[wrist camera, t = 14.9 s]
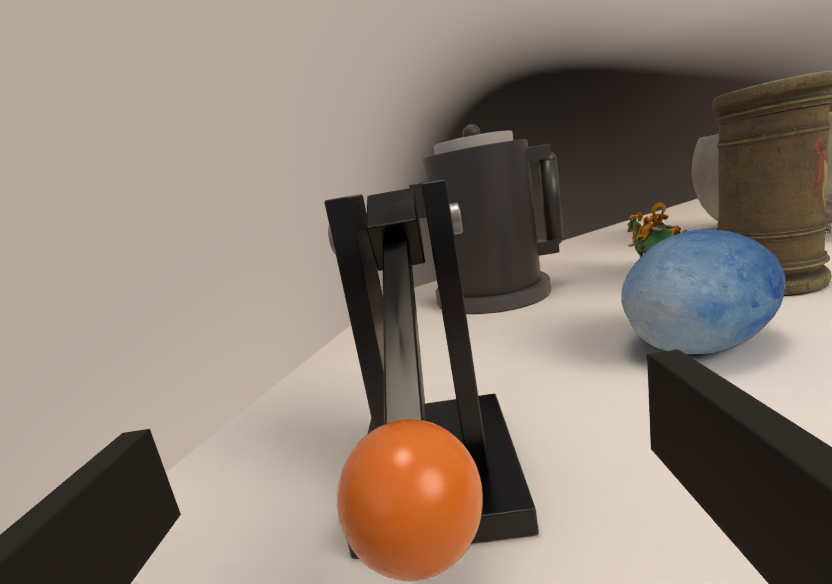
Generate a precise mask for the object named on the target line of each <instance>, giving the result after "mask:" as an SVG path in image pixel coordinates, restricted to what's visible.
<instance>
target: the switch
mask: <svg viewBox="0 0 832 584" xmlns="http://www.w3.org/2000/svg"><path fill="white" fill-rule="evenodd" d="M366 230H367V233H368V237H369V241H370V244H371V248H372V251H373V255H374V258H375V262H376V265H377V269H378V270H379V271H381V270H383V339H384V425H382V426H380V427H378V428H377V429H375V430H373V431H372V432H370V433H369V434H368V435H366V436H365V437H364V438H363V439H362V440H361V441H360V442H359V443H358V444H357V446H356V447H355V448H354V449H353V451H352V452H351V454H350V455H349V457H348V459H347V461H346V463H345V465H344V468H343V470H342V473H341V476H340V480H339V486H338V493H337V508H338V516H339V521H340V524H341V528H342V531H343V533H344V536H345V538H346V540H347V542H348V543H349V545H350V547H351V549H352V550H353V551H354V553H355V554H356V555H357V556H358V558H359V559H360V560H361V561H363V562H364V563H365V564H366V565H367V566H368V567H369V568H371V569H372V570H374V571H375V572H377V573H379V574H381V575H384V576H386V577H389V578H393V579H396V580H404V581H418V580H423V579H428V578H430V577H433V576H436V575H438V574H440V573H442V572H444V571H445V570H447V569H448V568H450V567H451V566H452V565H454V564H455V563H456V562H457V561H458V560H459V559H460V558H461V557H462V556H463V554H464V553H465V552H466V550H467V549H468V548H469V546H470V544H471V542H472V541H473V539H474V537H475V534H476V532H477V530H478V527H479V523H480V519H481V514H482V502H483V493H482V484H481V480H480V476H479V473H478V470H477V467H476V465H475V462H474V460H473V459H472V457H471V455H470V453H469V452H468V450H467V449H466V448H465V446H464V445H463V444H462V443H461V442H460V441H459V440H458V439H457V438H456V437H455V436H454V435H453V434H451V433H450V432H449V431H448V430H446V429H444V428H442V427H441V426H438V425H436V424H434V423H431V422H427V419H426V409H425V398H424V388H423V377H422V366H421V356H420V345H419V335H418V324H417V313H416V303H415V292H414V282H413V271H412V265H417V264H423V263H425V257H424V250H423V242H422V235H421V228H420V222H419V216H418V211H417V205H416V200H415V194H414V189H413V188H409V189H403V190H398V191H392V192H386V193H380V194H375V195H370V196H368V198H367V220H366Z"/></svg>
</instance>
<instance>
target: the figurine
mask: <svg viewBox="0 0 832 584" xmlns="http://www.w3.org/2000/svg"><path fill="white" fill-rule="evenodd" d="M658 207H662V213H661V214H655V210H656V209H657V208H658ZM665 210H666V207H665V205H664V204H663V203H658V204H656V205H655V206H654V207H653V208H652V211H651V212H652V215H653V216H650V217H649V218H648V217H645V218H643V215H642V214H641V213H638V215H636V216H635V215H632V216H631V217H630V221H631V222H629V223H628V226H629V228H628V230H627V232H632V231H633V237H632V240H633V243H632V244H630V245H628V246H630V247H631V246H634V245H635V249H636V251H637V253H638V254H639V255H640V258H641V256H642V255H643V253H646V252H647V251H648V250H649V249H650V248H652V247H653V246H654V245H656V244H657V243H659V242H661V241H662V240H664V239H666V238H669V237H671V236H674V235H677V234H680V230H681V228H679V226H677V225H676V226H669V225H665V224H663V223H662V220H663V219H665V220H667V218H668V215H665V214H664V212H665ZM658 216H659V217H658ZM632 217H634V218H633V220H632V219H631V218H632ZM657 217H658V218H657ZM637 218H639V219H638V221H641V219H642V218H643V220H644V225H643V226H641V224H640V223H638V222H637V221H636V219H637ZM651 219H652V220H651ZM649 222H650V223H649ZM651 222H653V223H651ZM673 228H674V230H670V229H673ZM684 232H688V231H687V230H683V232H682V233H684Z"/></svg>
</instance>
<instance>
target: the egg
mask: <svg viewBox="0 0 832 584" xmlns="http://www.w3.org/2000/svg"><path fill="white" fill-rule="evenodd" d="M784 290H785V274H784V271H783V269H782V267H781V264H780V263H779V261H778V259H777V257H776V256H775V255H774V254H773V253H772V252H770V251H769V250H768V249H766V248H765V247H764V246H763V245H761V244H760V243H758V242H757V241H755V240H753V239H751V238H748V237H746V236H743V235H741V234H737V233H733V232H730V231H724V230H713V229H702V230H693V231H688V232H684V233H680V234H677V235H674V236H671V237H669V238H666V239H664V240H662V241H661V242H659V243H657V244H656V245H654V246H653V247H652V248H650V249H649V250H648V251H647V252H646V253H645V254H643V255H642V256H641V258H640V259H639V260H638V261H637V262H636V263H635V264H634V266H633V267H632V268H631V270H630V271H629V273H628V275H627V277H626V279H625V281H624V283H623V288H622V300H621V301H622V305H623V308H624V312H625V314H626V316H627V318H628V319H629V321H630V323H631V326H632V327H633V329H634V330H635V331H636V333H637V334H638V335H639V336H640V337H641V338H642V339H643V340H644V341H646V342H647V343H649V344H651V345H652V346H654V347H656V348H659V349H661V350H665V351H670V350H677V349H678V350H680V351H682V352H683V353H685V354H708V353H715V352H720V351H723V350H726V349H729V348H732V347H734V346H737V345H739V344H741V343H742V342H744V341H746V340H748V339H750V338H751V337H753V336H754V335H755V334H756V333H758V332H759V331H760V330H761V329H762V328H763V327H765V325H766V324H767V323H768V322H769V321H770V320H771V319H772V318H773V317H774V316H775V314H776V312H777V311H778V309H779V308H780V305H781V303H782V299H783V295H784Z"/></svg>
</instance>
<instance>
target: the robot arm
mask: <svg viewBox="0 0 832 584" xmlns="http://www.w3.org/2000/svg"><path fill="white" fill-rule="evenodd" d="M647 362H648V388H649V413H650V438H651V450H652V451H653V452H654V453H655V454H656V455H657V456H658V458H659V459H660V460H661V461H662V462H663V463H664V464H665V466H666V467H667V468H668V469H669V470H670V471H671V472H672V474H673V475H674V476H675V477H676V478H677V479H678V480H679V482H680V483H681V484H682V485H683V486H684V487H685V488H686V490H687V491H688V492H689V493H690V494H691V495H692V496H693V498H694V499H695V500H696V501H697V502H698V503H699V504H700V506H701V507H702V508H703V509H704V510H705V511H706V512H707V514H708V515H709V516H710V517H711V518H712V519H713V520H714V522H715V523H716V524H717V525H718V526H719V527H720V529H721V530H722V531H723V532H724V533H725V534H726V535H727V537H728V538H729V539H730V540H731V541H732V542H733V543H734V545H735V546H736V547H737V548H738V549H739V550H740V551H741V553H742V554H743V555H744V556H745V557H746V558H747V559H748V561H749V562H750V563H751V564H752V565H753V566H754V567H755V569H756V570H757V571H758V572H759V573H760V574H761V575H762V577H763V578H764V579H765V580H766V581H767V582H768V583H769V584H832V447H831V446H829V445H828V444H826V443H824V442H823V441H821V440H820V439H818V438H817V437H815V436H813V435H812V434H810V433H809V432H807V431H806V430H804V429H802V428H801V427H799V426H798V425H796V424H795V423H793V422H791V421H790V420H788V419H787V418H785V417H784V416H782V415H780V414H779V413H777V412H776V411H774V410H773V409H771V408H769V407H768V406H766V405H765V404H763V403H762V402H760V401H759V400H757V399H755V398H754V397H752V396H751V395H749V394H748V393H746V392H744V391H743V390H741V389H740V388H738V387H737V386H735V385H733V384H732V383H730V382H729V381H727V380H726V379H724V378H722V377H721V376H719V375H718V374H716V373H715V372H713V371H711V370H710V369H708V368H707V367H705V366H704V365H702V364H700V363H699V362H697V361H696V360H694V359H693V358H691V357H689V356H688V355H686V354H685V353H683V352H682V351H680V350H678V349H677V350H670V351H663V352H657V353H650V354H647ZM180 515H181V514H180V511H179V508H178V505H177V503H176V500H175V497H174V494H173V492H172V489H171V486H170V483H169V481H168V478H167V475H166V472H165V470H164V467H163V464H162V461H161V459H160V456H159V453H158V450H157V448H156V445H155V442H154V440H153V437H152V434H151V431H150V429H146V430H139V431H132V432H126V433H122V434H121V435H120V436H118V437H117V438H116V439H115V440H114V441H112V442H111V443H110V444H109V445H108V446H106V447H105V448H104V449H103V450H102V451H101V452H99V453H98V454H97V455H96V456H94V457H93V458H92V459H91V460H90V461H88V462H87V463H86V464H85V465H84V466H82V467H81V468H80V469H79V470H77V471H76V472H75V473H74V474H73V475H71V476H70V477H69V478H68V479H67V480H65V481H64V482H63V483H62V484H61V485H59V486H58V487H57V488H56V489H55V490H53V491H52V492H51V493H50V494H49V495H48V496H46V497H45V498H44V499H43V500H42V501H40V502H39V503H38V504H37V505H36V506H34V507H33V508H32V509H31V510H30V511H29V512H27V513H26V514H25V515H24V516H22V517H21V518H20V519H19V520H17V521H16V522H15V523H14V524H13V525H11V526H10V527H9V528H8V529H7V530H6V531H4V532H3V533H2V534H1V535H0V584H131V582H132V581H133V580H134V578H135V577H136V575H137V574H138V573H139V571H140V570H141V569H142V567H143V566H144V564H145V563H146V562H147V560H148V559H149V558H150V556H151V555H152V553H153V552H154V551H155V549H156V548H157V547H158V545H159V544H160V542H161V541H162V540H163V538H164V537H165V536H166V534H167V533H168V531H169V530H170V529H171V527H172V526H173V525H174V523H175V522H176V520H177V519H178V518H179V516H180Z"/></svg>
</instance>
